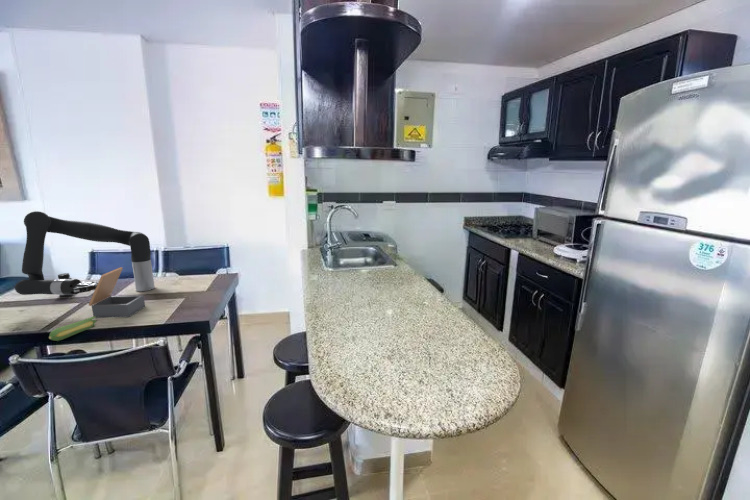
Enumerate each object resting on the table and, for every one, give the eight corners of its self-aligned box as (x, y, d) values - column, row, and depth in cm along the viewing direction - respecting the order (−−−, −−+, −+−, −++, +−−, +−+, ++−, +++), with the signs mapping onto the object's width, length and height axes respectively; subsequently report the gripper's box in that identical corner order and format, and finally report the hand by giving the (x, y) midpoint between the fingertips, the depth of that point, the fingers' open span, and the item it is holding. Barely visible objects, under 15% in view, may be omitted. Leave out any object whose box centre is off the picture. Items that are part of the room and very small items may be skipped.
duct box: (112, 307, 177) (110, 296, 176) (145, 306, 178) (143, 295, 177) (93, 317, 164) (91, 305, 163) (129, 316, 165) (127, 304, 164)
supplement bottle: (78, 293, 197) (74, 273, 194) (64, 297, 190) (60, 276, 188) (70, 292, 199) (66, 272, 196) (56, 296, 193) (52, 275, 190)
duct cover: (110, 295, 176) (108, 294, 176) (122, 268, 173) (120, 267, 173) (90, 306, 163) (88, 305, 162) (103, 276, 160) (101, 275, 160)
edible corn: (43, 332, 140) (50, 330, 138) (94, 315, 159) (101, 313, 157) (48, 344, 140) (55, 343, 139) (98, 325, 159) (105, 324, 158)
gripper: (52, 283, 160) (92, 283, 161) (75, 275, 173) (112, 275, 174) (56, 299, 162) (95, 299, 162) (78, 289, 174) (114, 289, 175)
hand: (103, 286), depth 168 cm, fingers closed
